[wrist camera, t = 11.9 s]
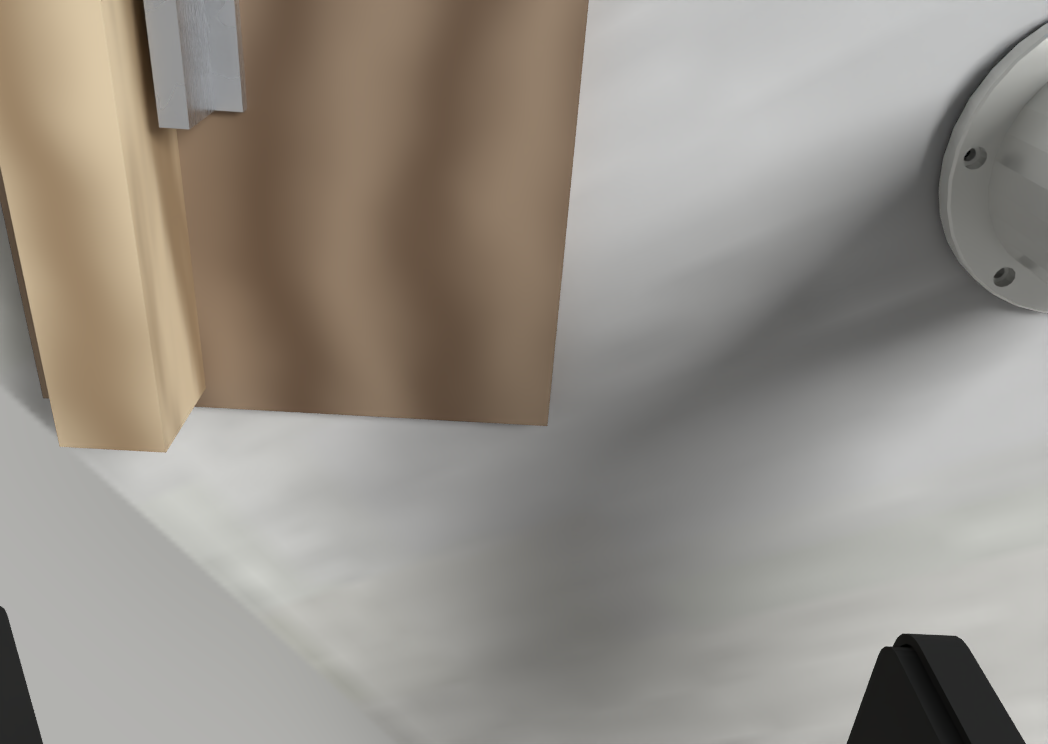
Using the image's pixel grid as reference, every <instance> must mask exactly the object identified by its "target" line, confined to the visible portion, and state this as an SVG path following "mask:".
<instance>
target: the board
mask: <svg viewBox="0 0 1048 744" xmlns="http://www.w3.org/2000/svg"><path fill="white" fill-rule="evenodd" d="M588 2H589V0H239V6H240V19H241V32H242V45H243V58H244V71H245V84H246V97H247V109H246V110H245V111H244V112H231V111H217V110H215V111H214V112H212V113H211V114H210V115H208V116H207V117H206V118H204V119H203V120H202V121H200V122H199V123H198V124H196V125H195V126H194V127H192V128H191V129H176V131H177V140H178V149H179V157H180V166H181V175H182V184H183V193H184V201H185V210H186V219H187V228H188V236H189V245H190V254H191V263H192V272H193V280H194V289H195V298H196V307H197V315H198V324H199V333H200V342H201V351H202V359H203V368H204V377H205V386H206V388H205V390H204V392H203V393H202V395H201V397H200V398H199V400H198V401H197V403H196V405H195V406H194V407H212V408H230V409H248V410H266V411H284V412H303V413H321V414H339V415H357V416H375V417H393V418H411V419H430V420H448V421H466V422H484V423H502V424H520V425H538V426H547V423H548V413H549V403H550V392H551V382H552V372H553V361H554V351H555V341H556V331H557V320H558V310H559V300H560V290H561V279H562V269H563V259H564V248H565V238H566V228H567V218H568V207H569V197H570V187H571V177H572V166H573V156H574V146H575V136H576V125H577V115H578V105H579V94H580V84H581V74H582V64H583V53H584V43H585V33H586V23H587V12H588ZM0 202H1V206H2V211H3V215H4V220H5V225H6V229H7V234H8V238H9V243H10V248H11V252H12V257H13V261H14V266H15V271H16V275H17V280H18V284H19V289H20V293H21V298H22V303H23V307H24V312H25V316H26V321H27V326H28V330H29V335H30V339H31V344H32V349H33V353H34V358H35V362H36V367H37V372H38V376H39V381H40V385H41V390H42V395H43V398H49V394H48V389H47V384H46V380H45V375H44V370H43V365H42V361H41V356H40V351H39V347H38V342H37V337H36V332H35V328H34V323H33V318H32V314H31V309H30V304H29V299H28V295H27V290H26V285H25V280H24V276H23V271H22V266H21V262H20V257H19V252H18V247H17V243H16V238H15V233H14V229H13V224H12V219H11V214H10V210H9V205H8V200H7V195H6V191H5V186H4V181H3V177H2V172H1V167H0Z"/></svg>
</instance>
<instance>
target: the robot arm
mask: <svg viewBox="0 0 1048 744" xmlns="http://www.w3.org/2000/svg"><path fill="white" fill-rule="evenodd" d="M970 149H971V152H970V154H969V156H967V157H966V158H964V157H965V155H966V153H967V152H968V151H969V150H970ZM939 208H940V218H941V222H942V225H943V229H944V233H945V236H946V240H947V242H948V244H949V246H950V247H951V249H952V251H953V253H954V255H955V257H956V258H957V260H958V262H959V263H960V264H961V265H962V266H963V267H964V269H965V270H966V271H967V272H968V273H969V274H970V275H971V276H972V277H973V278H974V279H975V280H976V281H977V282H978V283H979V284H981V285H982V286H983V287H984V288H985V289H987V290H988V291H989V292H991V293H992V294H993V295H995V296H997V297H999V298H1001V299H1003V300H1005V301H1007V302H1009V303H1011V304H1013V305H1015V306H1018V307H1022V308H1026V309H1030V310H1033V311H1037V312H1041V313H1048V22H1047V23H1046V24H1045V25H1043V26H1042V27H1041V28H1039V29H1038V30H1036V31H1035V32H1034V33H1032V34H1031V35H1029V36H1028V37H1027V38H1025V39H1024V40H1022V41H1021V42H1020V43H1018V44H1017V45H1016V46H1015V47H1014V48H1013V49H1012V50H1011V51H1010V52H1009V53H1008V54H1007V55H1006V56H1005V57H1004V58H1003V59H1002V60H1001V61H1000V62H999V63H998V64H997V65H996V66H995V67H994V68H993V69H992V70H991V71H990V72H989V74H988V75H987V76H986V77H985V79H984V80H983V81H982V83H981V84H980V85H979V87H978V88H977V89H976V91H975V92H974V93H973V95H972V96H971V97H970V99H969V101H968V102H967V104H966V106H965V108H964V110H963V112H962V113H961V115H960V117H959V119H958V121H957V123H956V125H955V126H954V128H953V131H952V134H951V137H950V140H949V143H948V146H947V149H946V151H945V154H944V157H943V162H942V169H941V175H940V182H939ZM0 744H43V742H42V738H41V735H40V731H39V728H38V724H37V720H36V717H35V713H34V710H33V706H32V702H31V699H30V695H29V692H28V688H27V684H26V681H25V677H24V674H23V670H22V666H21V663H20V659H19V656H18V652H17V649H16V645H15V641H14V638H13V634H12V630H11V627H10V623H9V620H8V616H7V613H6V611H5V609H4V608H2V607H1V606H0ZM847 744H1026V743H1025V742H1024V740H1023V738H1022V737H1021V735H1020V733H1019V732H1018V730H1017V728H1016V726H1015V725H1014V723H1013V721H1012V720H1011V718H1010V716H1009V715H1008V713H1007V711H1006V710H1005V708H1004V706H1003V705H1002V703H1001V701H1000V700H999V698H998V696H997V695H996V693H995V691H994V690H993V688H992V686H991V685H990V683H989V681H988V679H987V678H986V676H985V674H984V673H983V671H982V669H981V668H980V666H979V664H978V663H977V661H976V659H975V658H974V656H973V654H972V653H971V651H970V649H969V648H968V646H967V645H966V644H965V643H964V641H963V640H962V639H960V638H958V637H957V636H945V635H923V634H902V635H900V636H899V637H898V638H897V639H896V641H895V643H894V645H893V647H884V648H883V649H881V651H880V653H879V655H878V658H877V661H876V663H875V666H874V669H873V672H872V675H871V677H870V680H869V683H868V686H867V689H866V691H865V694H864V697H863V700H862V702H861V705H860V708H859V711H858V714H857V716H856V719H855V722H854V725H853V728H852V730H851V733H850V736H849V739H848V741H847Z"/></svg>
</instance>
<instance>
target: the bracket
mask: <svg viewBox="0 0 1048 744" xmlns="http://www.w3.org/2000/svg"><path fill="white" fill-rule="evenodd" d="M143 1H144V9H145V17H146V25H147V33H148V41H149V49H150V57H151V65H152V73H153V82H154V90H155V98H156V106H157V114H158V122H159V127H160V128H175V129H191V128H192V127H194V126H195V125H196V124H198V123H199V122H200V121H202V120H203V119H204V118H206V117H207V116H208V115H210V114H211V113H212V112H214V111H215V110H217V111H231V112H244V111H245V110H246V109H247V97H246V84H245V71H244V58H243V45H242V32H241V19H240V6H239V0H143Z"/></svg>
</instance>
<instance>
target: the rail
mask: <svg viewBox="0 0 1048 744" xmlns="http://www.w3.org/2000/svg"><path fill="white" fill-rule="evenodd" d="M0 167H1V172H2V177H3V181H4V186H5V191H6V195H7V200H8V205H9V210H10V214H11V219H12V224H13V229H14V233H15V238H16V243H17V247H18V252H19V257H20V262H21V266H22V271H23V276H24V280H25V285H26V290H27V295H28V299H29V304H30V309H31V314H32V318H33V323H34V328H35V332H36V337H37V342H38V347H39V351H40V356H41V361H42V365H43V370H44V375H45V380H46V384H47V389H48V394H49V399H50V403H51V408H52V413H53V417H54V422H55V427H56V432H57V436H58V441H59V446H60V447H75V448H94V449H112V450H130V451H149V452H167V450H168V448H169V447H170V445H171V443H172V442H173V440H174V439H175V437H176V435H177V434H178V432H179V431H180V429H181V427H182V426H183V424H184V422H185V421H186V419H187V418H188V416H189V414H190V413H191V411H192V409H193V408H194V406H195V405H196V403H197V401H198V400H199V398H200V397H201V395H202V393H203V392H204V390H205V388H206V386H205V377H204V368H203V359H202V351H201V342H200V333H199V324H198V315H197V307H196V298H195V289H194V280H193V272H192V263H191V254H190V245H189V236H188V228H187V219H186V210H185V201H184V193H183V184H182V175H181V166H180V157H179V149H178V140H177V131H176V129H175V128H160V127H159V122H158V114H157V106H156V98H155V90H154V82H153V73H152V65H151V57H150V49H149V41H148V33H147V25H146V17H145V9H144V1H143V0H0Z"/></svg>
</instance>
